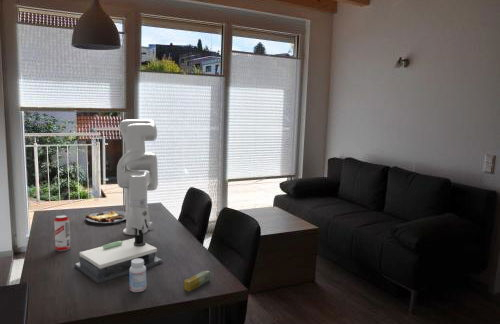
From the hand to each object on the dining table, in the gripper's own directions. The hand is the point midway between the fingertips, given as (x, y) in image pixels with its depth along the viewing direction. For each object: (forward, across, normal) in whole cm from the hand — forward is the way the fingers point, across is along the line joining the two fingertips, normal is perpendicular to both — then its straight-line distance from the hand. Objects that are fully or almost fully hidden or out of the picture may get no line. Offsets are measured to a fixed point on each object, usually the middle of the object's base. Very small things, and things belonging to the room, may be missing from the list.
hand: (139, 242), depth 180 cm
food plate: (+8, +64, -19) cm, 68 cm away
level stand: (+8, 0, +9) cm, 12 cm away
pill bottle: (+8, -24, +16) cm, 30 cm away
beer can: (+8, +34, +19) cm, 40 cm away
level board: (+3, 0, +9) cm, 10 cm away
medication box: (+8, -37, -3) cm, 38 cm away
